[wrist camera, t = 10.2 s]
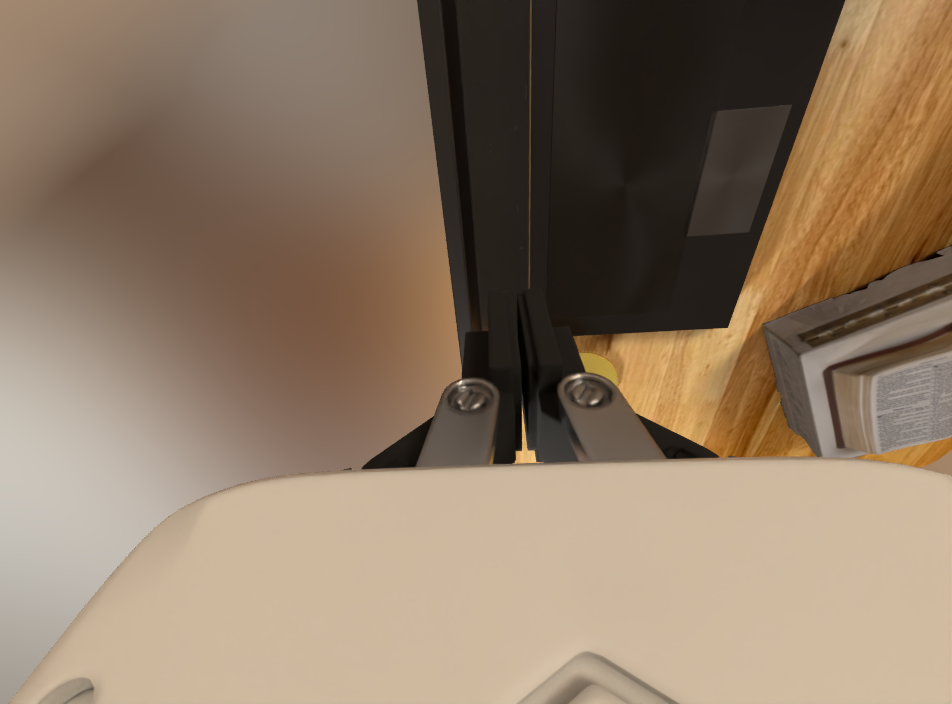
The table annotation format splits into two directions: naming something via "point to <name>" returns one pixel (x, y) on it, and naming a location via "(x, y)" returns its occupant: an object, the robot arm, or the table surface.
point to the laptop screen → (481, 145)
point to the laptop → (660, 151)
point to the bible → (870, 364)
